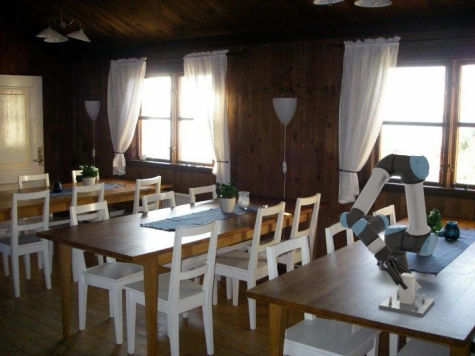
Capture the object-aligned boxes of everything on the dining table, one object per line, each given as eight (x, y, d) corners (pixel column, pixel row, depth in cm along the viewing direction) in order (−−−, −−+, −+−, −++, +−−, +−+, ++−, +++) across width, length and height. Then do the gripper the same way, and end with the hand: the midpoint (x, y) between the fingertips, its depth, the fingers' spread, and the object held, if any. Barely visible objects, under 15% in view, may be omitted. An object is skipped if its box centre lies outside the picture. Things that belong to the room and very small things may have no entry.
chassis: (393, 295, 245) (393, 285, 245) (434, 302, 235) (434, 292, 235) (378, 308, 229) (379, 298, 228) (422, 317, 219) (422, 306, 218)
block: (402, 299, 235) (403, 272, 234) (414, 301, 233) (415, 274, 231) (399, 302, 231) (400, 275, 230) (411, 304, 229) (412, 277, 227)
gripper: (381, 249, 247) (415, 290, 240) (365, 260, 229) (401, 303, 222) (393, 240, 243) (428, 280, 237) (377, 249, 226) (415, 293, 219)
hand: (415, 291), depth 229 cm, fingers open, 8 cm apart
